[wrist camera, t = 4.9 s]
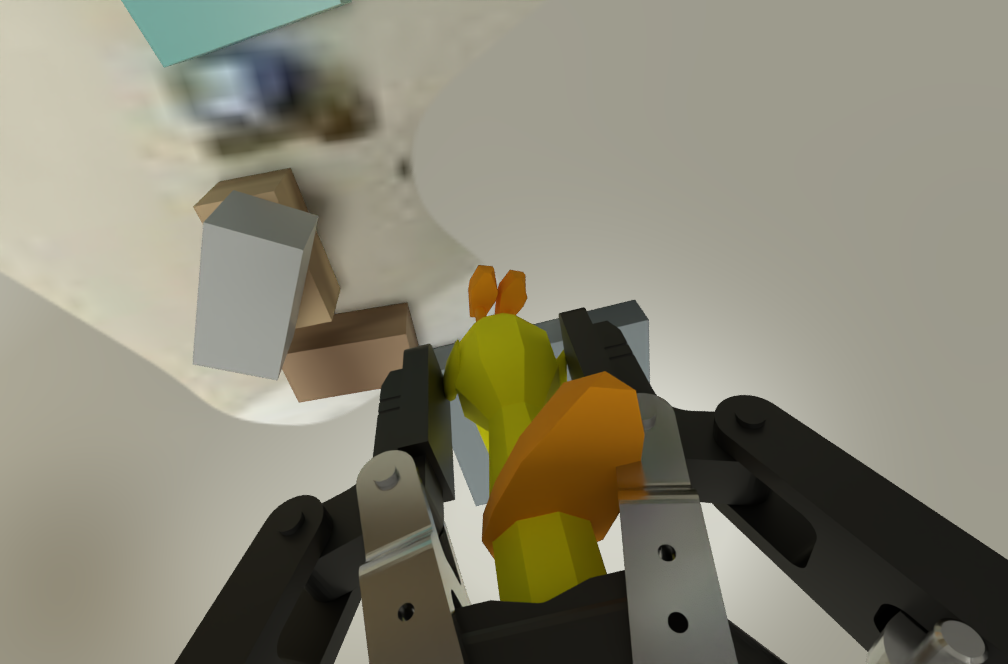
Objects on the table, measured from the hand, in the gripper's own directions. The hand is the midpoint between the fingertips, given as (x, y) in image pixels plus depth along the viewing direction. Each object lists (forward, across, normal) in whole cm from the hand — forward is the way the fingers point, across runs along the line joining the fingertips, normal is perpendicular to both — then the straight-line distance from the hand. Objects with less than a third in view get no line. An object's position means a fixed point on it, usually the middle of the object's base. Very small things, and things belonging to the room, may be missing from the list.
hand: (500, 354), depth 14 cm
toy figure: (+4, 0, 0) cm, 4 cm away
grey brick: (+8, +9, -1) cm, 12 cm away
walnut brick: (+11, +8, +5) cm, 14 cm away
